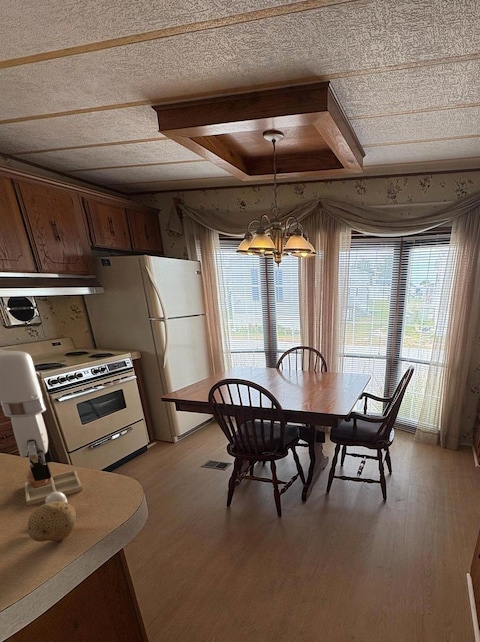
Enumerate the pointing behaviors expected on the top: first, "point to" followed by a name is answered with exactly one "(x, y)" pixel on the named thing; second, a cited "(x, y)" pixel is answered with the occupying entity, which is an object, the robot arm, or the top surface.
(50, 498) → the white egg
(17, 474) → the top surface
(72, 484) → the cream divided tray
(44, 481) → the brown egg
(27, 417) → the robot arm
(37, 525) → the natural sponge
